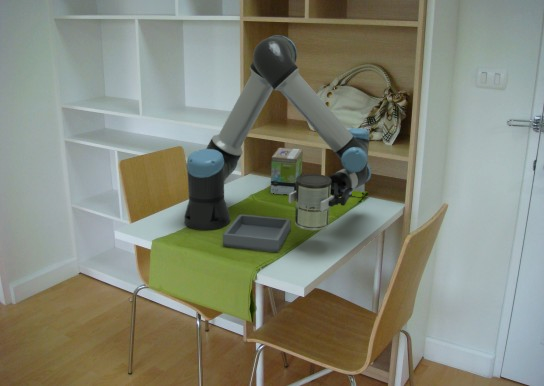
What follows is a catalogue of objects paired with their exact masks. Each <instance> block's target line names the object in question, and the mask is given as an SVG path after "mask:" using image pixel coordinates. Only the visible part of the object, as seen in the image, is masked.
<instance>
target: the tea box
mask: <svg viewBox="0 0 544 386" xmlns="http://www.w3.org/2000/svg"><path fill="white" fill-rule="evenodd" d="M270 169H271V170H270V174H271V175H270V194H273V193H274V194H273V195H283V194H287V195H286V196H289V194H290V193H292V192H293V191H294V186H295V185H296V178H297V177H298V176H300V175H303V149H302V148H301V149H300V148H287V147H278V148H277V150H276V151H275V152H274V153H273V155H272V156H271V168H270Z"/></svg>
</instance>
